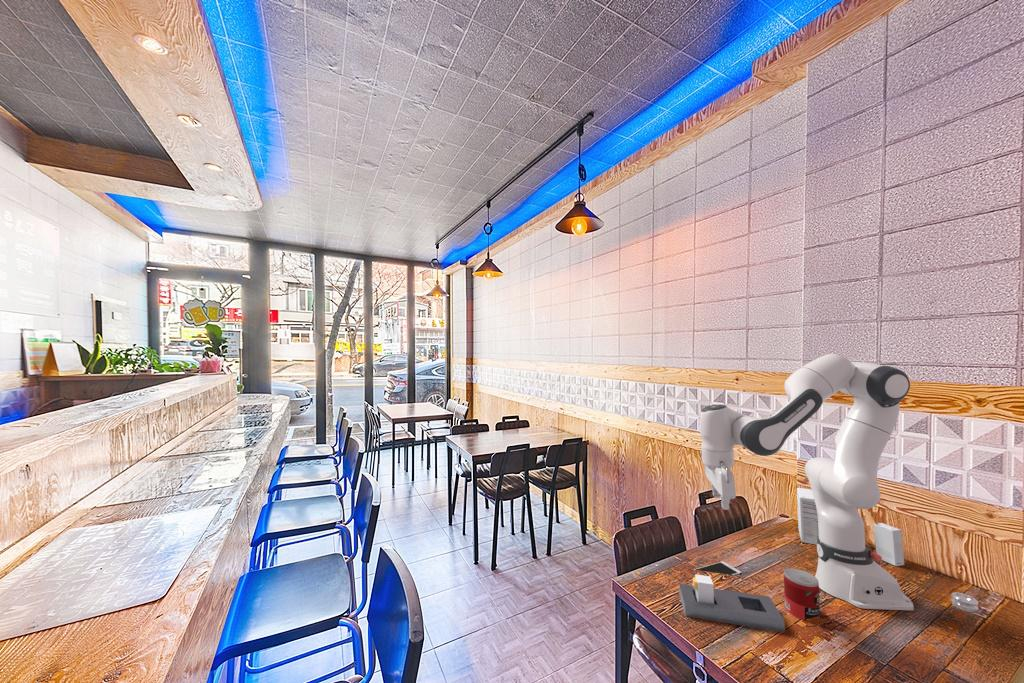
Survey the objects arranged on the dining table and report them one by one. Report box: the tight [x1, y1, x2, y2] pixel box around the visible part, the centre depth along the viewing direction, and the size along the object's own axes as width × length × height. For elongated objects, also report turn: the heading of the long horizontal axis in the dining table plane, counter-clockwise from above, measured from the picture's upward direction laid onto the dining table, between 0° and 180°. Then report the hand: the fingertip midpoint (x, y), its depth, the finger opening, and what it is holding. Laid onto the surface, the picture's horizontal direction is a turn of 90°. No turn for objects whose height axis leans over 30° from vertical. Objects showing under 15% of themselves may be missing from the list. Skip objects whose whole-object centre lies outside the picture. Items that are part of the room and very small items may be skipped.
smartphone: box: [693, 560, 742, 576], centre depth 126 cm, size 7×16×1 cm, turn 111°
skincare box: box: [873, 522, 905, 567], centre depth 133 cm, size 6×4×12 cm
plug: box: [692, 573, 715, 604], centre depth 108 cm, size 5×4×8 cm
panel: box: [678, 583, 786, 633], centre depth 106 cm, size 24×10×4 cm, turn 75°
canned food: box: [783, 567, 821, 623], centre depth 105 cm, size 8×8×11 cm
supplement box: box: [796, 487, 819, 546], centre depth 149 cm, size 13×13×18 cm
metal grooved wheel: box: [950, 591, 980, 614], centre depth 109 cm, size 5×3×5 cm
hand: (720, 502), depth 116 cm, fingers open, 8 cm apart
